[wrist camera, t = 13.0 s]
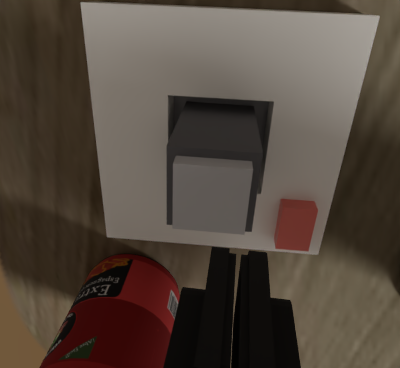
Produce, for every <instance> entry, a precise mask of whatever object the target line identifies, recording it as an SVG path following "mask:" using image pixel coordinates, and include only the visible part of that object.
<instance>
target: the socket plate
mask: <svg viewBox="0 0 400 368" xmlns="http://www.w3.org/2000/svg"><path fill="white" fill-rule="evenodd" d="M80 4H81V13H82V21H83V30H84V39H85V48H86V57H87V66H88V75H89V83H90V92H91V101H92V110H93V119H94V128H95V137H96V145H97V154H98V163H99V172H100V181H101V190H102V198H103V207H104V216H105V225H106V234H107V237H110V238H122V239H134V240H146V241H158V242H170V243H182V244H194V245H206V246H218V247H230V248H242V249H254V250H266V251H278V252H290V253H302V254H314V255H318V253H319V249H320V246H321V242H322V238H323V234H324V230H325V226H326V222H327V219H328V215H329V211H330V207H331V203H332V199H333V195H334V192H335V188H336V184H337V180H338V176H339V172H340V168H341V164H342V161H343V157H344V153H345V149H346V145H347V141H348V137H349V134H350V130H351V126H352V122H353V118H354V114H355V110H356V107H357V103H358V99H359V95H360V91H361V87H362V83H363V79H364V76H365V72H366V68H367V64H368V60H369V56H370V52H371V49H372V45H373V41H374V37H375V33H376V29H377V25H378V21H379V18H380V16H377V15H369V14H361V13H338V12H316V11H294V10H272V9H250V8H228V7H206V6H184V5H162V4H140V3H118V2H80ZM186 101H189V102H203V103H218V104H233V105H248V106H254V109H255V114H256V119H257V125H258V130H259V135H260V140H261V145H262V151H263V157H262V163H261V170H260V177H259V184H258V191H257V198H256V205H255V212H254V219H253V226H252V232H245V234H244V235H241V234H230V233H218V232H207V231H195V230H184V229H172V225H167V144H168V141H169V139H170V137H171V135H172V132H173V130H174V128H175V126H176V124H177V121H178V119H179V117H180V115H181V112H182V110H183V108H184V106H185V103H186Z"/></svg>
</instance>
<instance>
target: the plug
mask: <svg viewBox="0 0 400 368" xmlns="http://www.w3.org/2000/svg"><path fill="white" fill-rule="evenodd" d="M262 157H263V151H262V145H261V140H260V135H259V130H258V125H257V119H256V114H255V109H254V106H248V105H233V104H218V103H203V102H189V101H186V103H185V106H184V108H183V110H182V112H181V115H180V117H179V119H178V121H177V124H176V126H175V128H174V130H173V132H172V135H171V137H170V139H169V141H168V144H167V225H172V229H184V230H195V231H207V232H218V233H230V234H241V235H244V234H245V232H252V226H253V219H254V212H255V205H256V198H257V191H258V184H259V177H260V170H261V163H262Z"/></svg>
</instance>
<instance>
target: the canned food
mask: <svg viewBox="0 0 400 368" xmlns="http://www.w3.org/2000/svg"><path fill="white" fill-rule="evenodd" d="M179 298H180V295H179V290H178V286H177V283H176V281H175V279H174V278H173V277H172V275H171V274H170V273H169V272H168V271H167V270H166V269H165V268H164V267H163V266H161V265H160V264H158V263H157V262H155V261H153V260H151V259H148V258H146V257H142V256H139V255H132V254H120V255H115V256H111V257H109V258H106V259H104V260H103V261H102V262H100V263H99V264H98V265H97V266H95V267H94V268H93V269H92V271H91V272H90V273H89V275H88V277H87V278H86V280H85V282H84V284H83V286H82V288H81V290H80V292H79V294H78V296H77V297H76V299H75V301H74V303H73V305H72V307H71V309H70V311H69V313H68V315H67V316H66V318H65V320H64V322H63V324H62V326H61V328H60V330H59V332H58V334H57V335H56V337H55V339H54V341H53V343H52V345H51V347H50V349H49V351H48V353H47V354H46V356H45V359H44V360H43V362H42V364H41V366H40V368H163V366H164V362H165V358H166V354H167V349H168V345H169V341H170V337H171V332H172V328H173V324H174V320H175V315H176V311H177V307H178V303H179Z"/></svg>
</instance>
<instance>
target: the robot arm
mask: <svg viewBox="0 0 400 368" xmlns="http://www.w3.org/2000/svg"><path fill="white" fill-rule="evenodd" d="M235 265H236V254H232V253H229V248H221V247H212V250H211V257H210V263H209V270H208V277H207V283H206V290H203V289H195V288H186V287H183V288H182V291H181V294H180V298H179V303H178V307H177V311H176V315H175V320H174V324H173V328H172V332H171V337H170V341H169V345H168V349H167V354H166V358H165V362H164V366H163V368H230V361H231V368H301V366H300V359H299V352H298V345H297V338H296V331H295V324H294V317H293V310H292V304H291V301H290V300H285V299H277V298H270V285H269V271H268V257H267V253H266V252H257V251H249V252H248V255H241V262H240V271H239V279H238V287H237V296H236V304H235V312H234V322H233V304H234V285H235ZM232 323H233V339H232ZM231 343H232V359H231Z"/></svg>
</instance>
